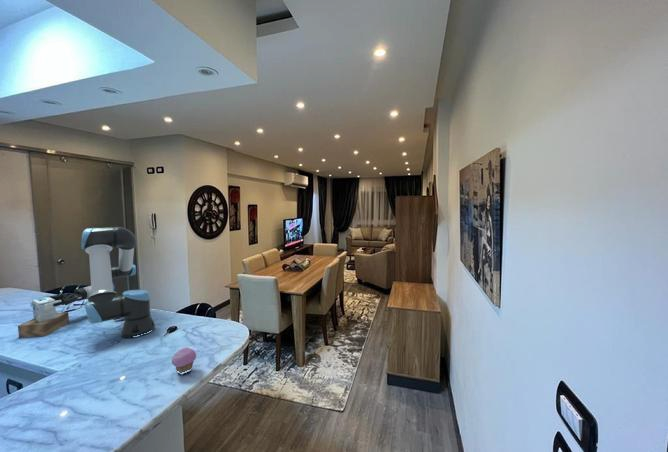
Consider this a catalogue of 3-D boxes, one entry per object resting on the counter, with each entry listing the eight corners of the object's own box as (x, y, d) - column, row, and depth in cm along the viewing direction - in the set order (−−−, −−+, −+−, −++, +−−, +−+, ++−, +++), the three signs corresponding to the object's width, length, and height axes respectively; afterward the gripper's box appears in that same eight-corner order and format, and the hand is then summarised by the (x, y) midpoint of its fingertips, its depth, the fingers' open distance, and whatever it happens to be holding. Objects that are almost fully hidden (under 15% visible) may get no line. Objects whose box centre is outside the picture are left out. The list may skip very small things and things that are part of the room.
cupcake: (191, 363, 117) (190, 342, 116) (200, 371, 112) (199, 349, 111) (169, 373, 110) (168, 350, 110) (177, 382, 105) (176, 358, 104)
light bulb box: (33, 318, 148) (31, 300, 148) (50, 314, 154) (48, 296, 153) (39, 322, 143) (38, 303, 143) (57, 318, 149) (55, 299, 148)
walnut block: (69, 323, 158) (68, 312, 158) (45, 336, 142) (44, 323, 142) (45, 325, 156) (44, 313, 155) (19, 338, 140) (17, 325, 140)
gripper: (97, 301, 162) (51, 315, 142) (72, 297, 170) (25, 309, 150) (96, 289, 161) (50, 301, 141) (71, 285, 169) (24, 296, 149)
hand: (37, 305), depth 146 cm, fingers open, 13 cm apart
